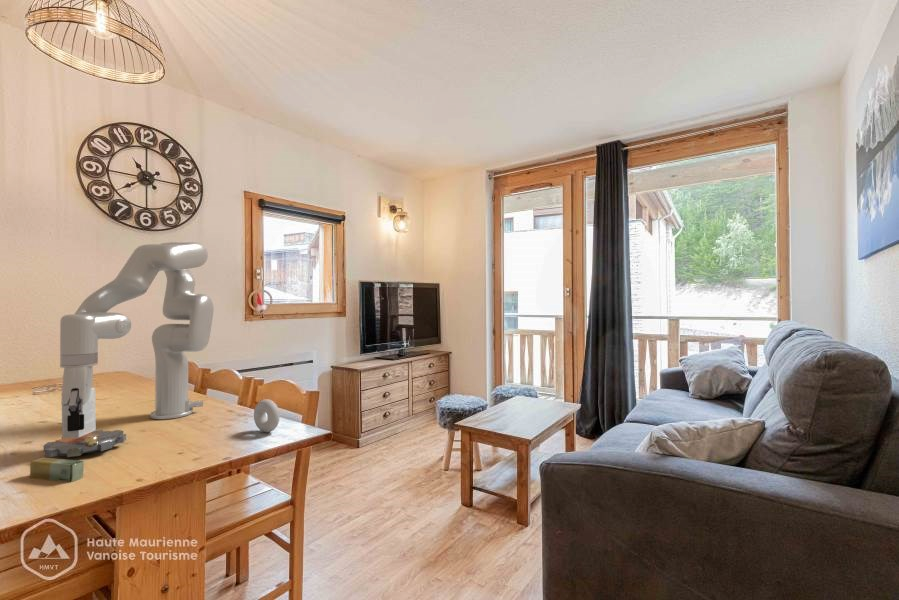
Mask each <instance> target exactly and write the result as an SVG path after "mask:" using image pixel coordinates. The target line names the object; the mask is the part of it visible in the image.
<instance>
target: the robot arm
mask: <svg viewBox="0 0 899 600" xmlns="http://www.w3.org/2000/svg"><path fill="white" fill-rule="evenodd" d="M208 257H209V256H208V251H207V248H206V247H205V246H204V245H203V244H202V243H200V242H193V241H192V242H181V241H180V242H162V243H159V244H158V243H157V244H142V245H139V246H137V248H135V249H134V250H133V252H132V254H131V255H130V256H129V257H128V259H127V261H126V263H125V264H124V266H123V267H122V268H121V269H120V271H119V273H118V274H117V275H116V277H115V278H114V279H113V280H112V281H110V282H108V283H107V284H105V285H103V286H102V287H100V288H98V289H97V290H95V291H94V292H92V293H91V294H90V295H88V296H87V297H86V298H85V299H84V300H83V302H81V304H80V305H79V307H78V308H77V310H76V311H75V312H74V314H65V315H63V316H62V317H61V318H60V321H59V322H60V323H59V325H60V326H59V328H60V329H59V330H60V331H59V338H60V339H59V346H60V347H59V349H60V350H59V353H60V354H59V355H60V356H59V357H60V359H59V364H60V365H59V367H60V368H62V369H63V375H62V384H61V385H62V386H61V400H60V401H61V406H62V405H63V406H66V405H65V404H68V403H69V408H68V416H67V431H77V430H83V429H84V414H83V405H84V404H85V403H86V402H87V401H89V398H90V394H91V389H92V388H94V373H93V372H94V371H93V370H94V369H93V366H96V365H99V363H98V362H99V361H98V359H99V358H98V357H99V355H98V354H99V352H98V351H99V348H98V347H99V346H98V345H99V339H101V340H102V339H103V340H114V339H120V338H123V337H126V336H127V334H128V333H130V331H131V330H132V322H131V320H130V318H129V317H128V316H127V315H125V314H122V313H119V312H108V311H110V310H111V309H113V308H114V307H116V306H118V305H119V304H122V303H124V302H127V301H131V300H133V299H134V300H135V299H136V298H138V297H141V296H143V295H145V293H147V291H148V289H150V287H151V285H152V283H153V282H154V280H155V279H156V276H157V275H158V273H159V272H160V271H163V272H164V273H165V277H166V284H165V285H166V286H165V292H164V298H163V303H162V314H163V317H165V318H166V319H168V320H172V321H189V323H165V324H160V325H159V326H158V327H156V328H155V329H154V330H153V332H152V335H151V342H152V343H151V344H152V347H153V352H154V360H155V371H154V373H155V374H154V375H155V378H154V379H155V380H154V382H155V383H154V384H155V385H154V387H155V389H154V390H155V391H154V392H155V393H154V395H155V397H154V398H155V399H154V400H155V404H154V405H155V406H154V409H155V410H154V411H151V412H150V413H149V418H150V419H152V420H171V419H177V418H182V417H187V416H189V415H191V414H192V413H193V412H194V408H201V407H204V401H203V400H201V401H199V400H194V401H192V400H190V398H189V360H188V358H187V357H188V356H186V354H185V352H186V353H187V352H192V353H194V352H195V353H196V352H201V351H203V350H204V349H206V348H207V346H208V344H209V341H210V337H211V331H212V324H213V317H214V304H213V301H212V299H211V297H210V296H208V295H207V294H204V293H195V286H196V281H195V277H194V274H193V272H191V270H190V269H195V268H200V267H201V266H203V265H205V263H206V262H207V260H208ZM78 395H79V400H80V401H81V403H77V399H78ZM69 399H70V400H69ZM68 401H69V402H68ZM79 406H80V410H79Z"/></svg>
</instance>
